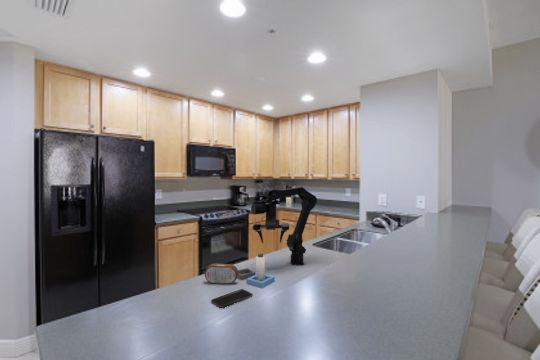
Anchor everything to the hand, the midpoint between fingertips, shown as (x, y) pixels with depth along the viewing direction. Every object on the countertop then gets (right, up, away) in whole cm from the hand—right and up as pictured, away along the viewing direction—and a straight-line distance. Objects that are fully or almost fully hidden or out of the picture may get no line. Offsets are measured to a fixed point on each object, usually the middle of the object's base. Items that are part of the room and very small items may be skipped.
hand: (271, 243), depth 135 cm
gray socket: (-13, -13, -11) cm, 21 cm away
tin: (-22, -13, -19) cm, 33 cm away
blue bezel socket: (-5, -13, -19) cm, 24 cm away
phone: (-15, -13, -36) cm, 41 cm away
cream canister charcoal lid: (-5, -13, -19) cm, 24 cm away
